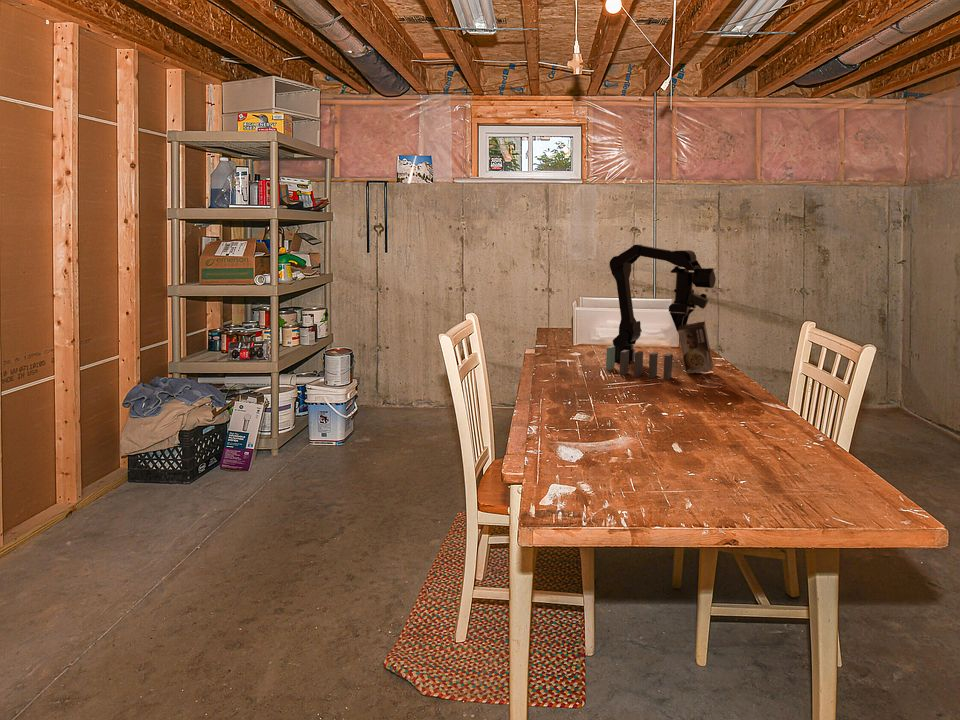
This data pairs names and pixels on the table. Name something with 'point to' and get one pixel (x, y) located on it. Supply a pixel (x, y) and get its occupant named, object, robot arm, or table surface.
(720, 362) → the table surface
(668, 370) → the black domino
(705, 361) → the coffee box
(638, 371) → the black domino
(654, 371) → the black domino
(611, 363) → the teal domino
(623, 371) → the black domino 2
